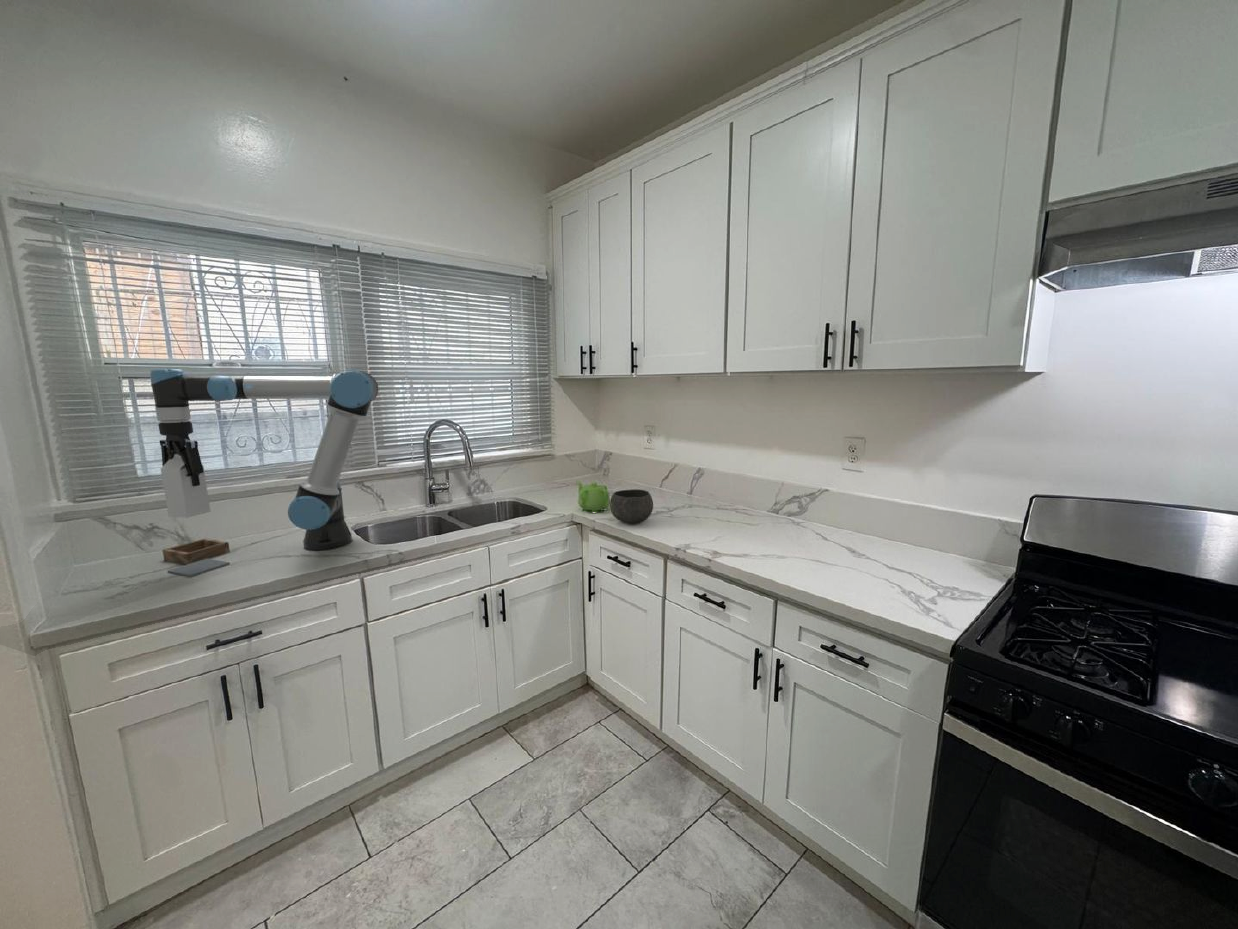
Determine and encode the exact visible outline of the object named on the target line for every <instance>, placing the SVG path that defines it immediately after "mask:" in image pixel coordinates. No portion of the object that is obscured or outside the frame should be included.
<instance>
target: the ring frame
mask: <svg viewBox="0 0 1238 929" xmlns="http://www.w3.org/2000/svg"><path fill="white" fill-rule="evenodd" d="M230 552H231V551H230V544H229V542H228V541H222V540H217V539H210V538H202V539H198V540H195V541H190V542H187V543H183V544H179V545H176V546H173V547H169V548H165V549H162V554H163V560H164V561H167V562H173V563H178V564H184V565H187V564H191V563H194V562H197V561H200V560H204V559H207V558H208V559H212V558H215V557H218V556H221V555H224V554H228V553H230Z"/></svg>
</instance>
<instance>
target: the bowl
mask: <svg viewBox="0 0 1238 929" xmlns="http://www.w3.org/2000/svg"><path fill="white" fill-rule="evenodd" d="M609 509H610V513H611V514H612V516H613V517H614V518H615V519H616V520H618V521H619V522H621V523H625V524H627V523H628V524H627V525H637V524H636V523H638V524H641V523H643V522H644V521H646V520H648V519H649V517H650V516H651V514H652V513H653V509H654V500H653V498H652V494H651V493H650V492H649V491H647V490H645V489H637V488H634V489H622V490H617V491H615V492H613V493H612V495H611V497H610V504H609Z"/></svg>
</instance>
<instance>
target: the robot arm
mask: <svg viewBox="0 0 1238 929" xmlns="http://www.w3.org/2000/svg"><path fill="white" fill-rule="evenodd" d="M149 374H150V386H151V389H152V394H153V399H154V407H155V413H156V419H157V421H158V422H159V423H158V430H159V431H158V432H159V434H160V435H161V436H165V439H160V440H159V445H160V448H161V449H160V450H161V460H162V463H161V464H162V467H163V466H164V465H165V464H166V462H167V461H168V460H169V459H170V460H171V459H172V458H174V454H178V455H179V456H181V458H182V460H183V463H185V464H184V465H185V468H186V470H187V472H188V474H187V475H186V476H187V482H188V488H189V494H190V497H196V496H201V495H202V494H201V487H200V481H199V475H200V474H201V473H203V472H205V470H204V471H203V467H202V465H203V463H202V459H201V456H200V452H199V443H198V441H197V440H191V438H190V436H189V435H190V434H193V433H194V428H193V422H192V421H190V420H192V417H191V409H190V403H189V402H216V401H217V402H225V401H233V400H266V399H267V400H297V399H298V400H299V399H300V400H304V399H305V400H307V399H309V400H312V399H313V400H314V399H315V400H319V399H320V400H325V399H326V400H328V401H327V404H326V405H327V407H328V408H329V410H330V412H329V415H328V418H327V421H326V424H325V426H324V428H323V432H322V436H321V438H320V440H319V444H318V447H317V450H316V453H315V456H314V459H313V461H312V464H311V467H310V471H309V473H308V476H307V479H305V480H304V481H301V482H300V483H299V486H298V489H297V492H296V495H295V497H294V499H293V500H292V501H291V502H290V504H289V506H288V509H287V517H288V519H289V521H290V522H291V523H292V524H293V526H295V527H297V528H298V529H299V528H300V529H303V530H305V533H304V538H303V541H302V542H303V548H304V549H305V550H308V551H323V550H324V551H325V550H326V551H327V550H332V549H336V548H340V547H343V546H346V545H348V544H350V543H351V542H352V541H353V537H352V532H351V530H350V529H349V526H348V525H347V523H346V520H345V515H344V514H345V513H344V512H345V511H344V504H343V494H342V493H343V492H342V490H343V489H342V486H341V483H340V481H339V480H340V478H341V475H342V474H341V473H342V471H343V468H344V465H345V462H346V460H347V456H348V454H349V451H350V448H351V445H352V442H353V439H354V436H355V433H356V430H357V428H358V425H359V422H360V420H361V419H363V418H366V417H367V414H368V411H369V409H370V406H371V404H372V402H373V401H374V400H376V398H377V396H378V393H379V385H378V382H377V380H376V379H375V378H374V376H372V375H371V374H370V373H369V372H365V371H363V370H355V369H348V370H343V371H341V372H340V373H333V375H332V376H296V375H294V376H292V375H291V376H290V375H288V376H287V375H286V376H283V375H281V376H279V375H278V376H277V375H276V376H273V375H265V376H264V375H258V376H257V375H256V376H255V375H252V376H251V375H222V374H221V375H186V374H185V373H184V370H183V369H177V368H176V369H175V368H170V369H168V368H167V369H166V368H155V369H152V370H150V373H149Z"/></svg>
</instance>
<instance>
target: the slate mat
mask: <svg viewBox="0 0 1238 929" xmlns="http://www.w3.org/2000/svg"><path fill="white" fill-rule="evenodd" d="M229 565H230V561H225V560H224V561H223V560H218V559H212V558H209V559H208V558H207V559H204V560H200V561H197V562H194V563H191V564H184V565H180V566H178V567H174V568H172V569H169V570H167V573H168V574H174V575H178V576H182V577H183V576H184V577H186V578H187V577H188V578H193V577H195V576H199V575H201V574H204V573H207V572H210V571H213V570H217V569H219V568H222V567H225V566H229Z"/></svg>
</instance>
